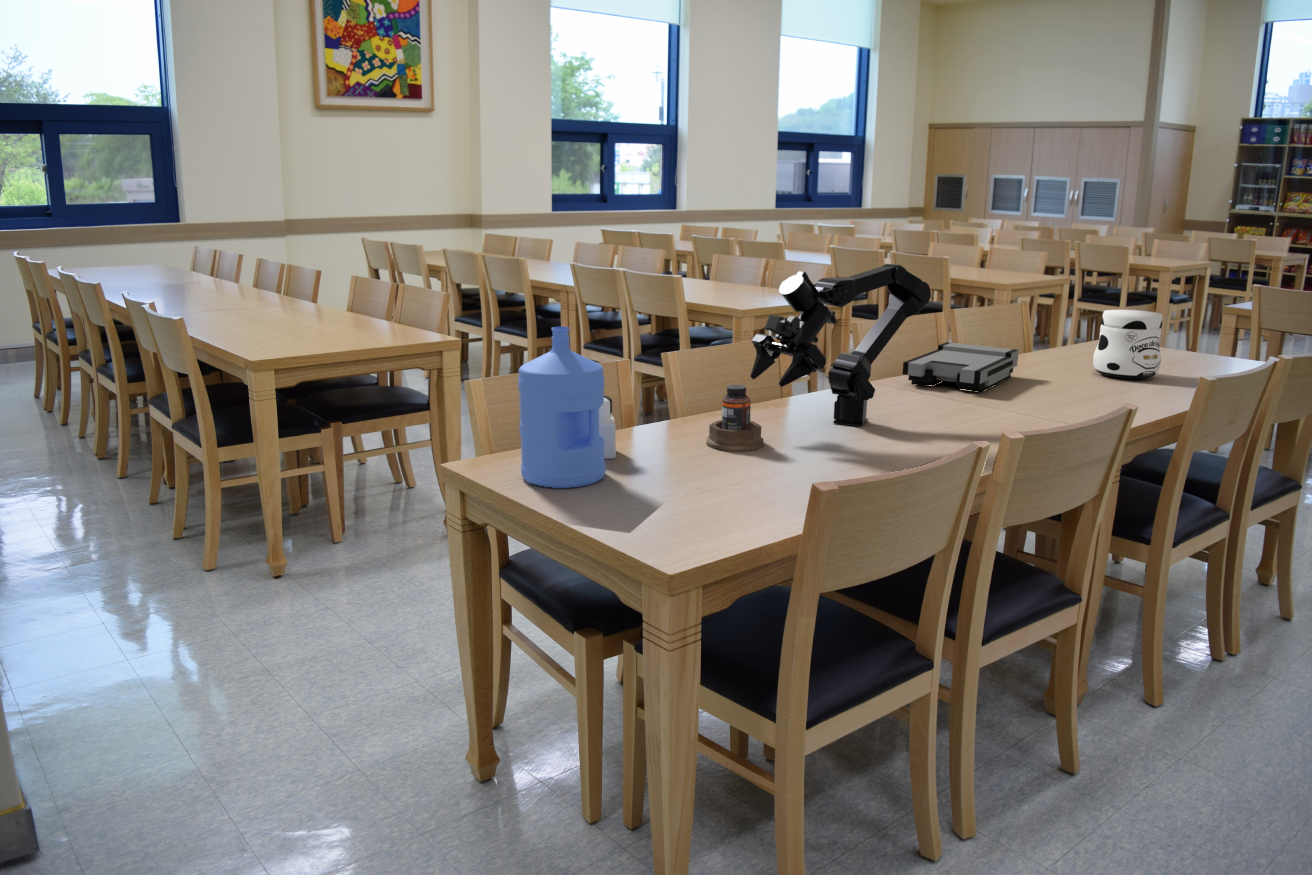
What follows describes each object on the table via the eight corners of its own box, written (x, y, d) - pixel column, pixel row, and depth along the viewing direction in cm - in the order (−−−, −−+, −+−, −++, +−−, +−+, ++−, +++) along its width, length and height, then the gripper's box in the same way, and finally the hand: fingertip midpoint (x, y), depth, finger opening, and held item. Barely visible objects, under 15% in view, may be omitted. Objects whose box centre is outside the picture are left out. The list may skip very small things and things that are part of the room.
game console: (901, 387, 261) (903, 357, 259) (944, 369, 286) (946, 342, 284) (978, 398, 249) (981, 366, 247) (1015, 378, 274) (1018, 349, 272)
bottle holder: (771, 440, 207) (772, 422, 206) (751, 454, 196) (751, 435, 195) (719, 433, 212) (720, 416, 211) (697, 447, 202) (697, 428, 201)
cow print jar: (1154, 384, 265) (1163, 319, 260) (1086, 377, 274) (1093, 314, 269) (1161, 374, 279) (1170, 312, 274) (1097, 368, 288) (1104, 307, 283)
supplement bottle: (748, 435, 207) (749, 383, 204) (751, 442, 201) (753, 389, 198) (720, 435, 207) (721, 383, 204) (723, 442, 201) (724, 389, 198)
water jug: (505, 484, 177) (500, 331, 170) (545, 461, 191) (541, 319, 184) (583, 494, 172) (581, 337, 164) (618, 470, 186) (617, 324, 178)
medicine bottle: (579, 450, 199) (578, 393, 196) (614, 449, 200) (614, 392, 197) (579, 459, 192) (578, 400, 189) (615, 459, 193) (615, 400, 190)
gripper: (759, 296, 211) (718, 351, 208) (819, 306, 196) (775, 364, 193) (785, 329, 218) (745, 383, 214) (844, 341, 203) (802, 398, 200)
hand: (765, 381), depth 205 cm, fingers open, 9 cm apart
